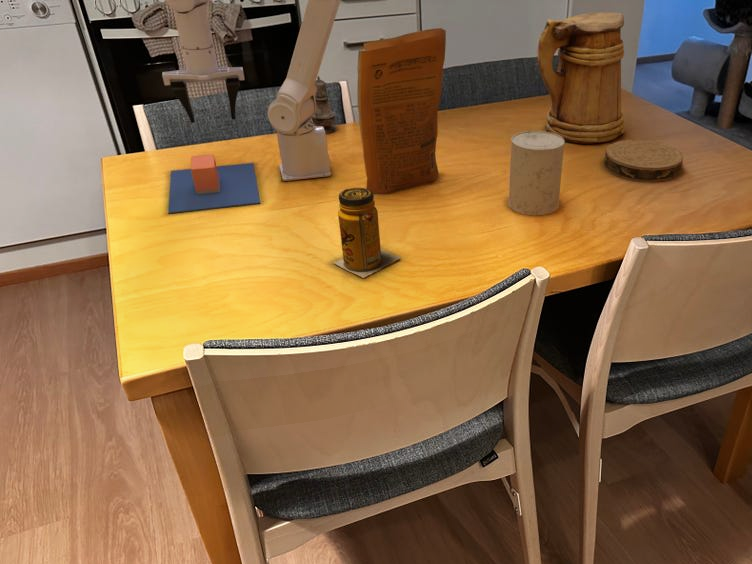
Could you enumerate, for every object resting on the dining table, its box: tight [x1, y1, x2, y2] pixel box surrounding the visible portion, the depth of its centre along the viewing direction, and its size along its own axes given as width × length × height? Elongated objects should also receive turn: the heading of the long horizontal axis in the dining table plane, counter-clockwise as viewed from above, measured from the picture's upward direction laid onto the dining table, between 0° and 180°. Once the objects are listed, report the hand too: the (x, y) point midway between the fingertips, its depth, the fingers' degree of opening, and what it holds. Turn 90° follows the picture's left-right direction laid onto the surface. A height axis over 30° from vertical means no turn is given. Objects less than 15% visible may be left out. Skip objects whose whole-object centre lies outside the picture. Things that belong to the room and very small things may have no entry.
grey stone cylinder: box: [507, 130, 566, 216], centre depth 127 cm, size 10×10×12 cm
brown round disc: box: [603, 139, 684, 183], centre depth 146 cm, size 16×16×3 cm
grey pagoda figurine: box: [312, 75, 337, 134], centre depth 158 cm, size 6×6×12 cm
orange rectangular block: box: [190, 153, 220, 195], centre depth 133 cm, size 4×7×5 cm, turn 18°
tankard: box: [537, 11, 626, 145], centre depth 155 cm, size 18×24×25 cm
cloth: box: [167, 162, 261, 215], centre depth 134 cm, size 16×20×1 cm
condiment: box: [332, 187, 402, 279], centre depth 109 cm, size 7×8×12 cm
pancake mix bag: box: [356, 27, 447, 195], centre depth 129 cm, size 7×19×28 cm, turn 125°
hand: (213, 119), depth 138 cm, fingers open, 7 cm apart
